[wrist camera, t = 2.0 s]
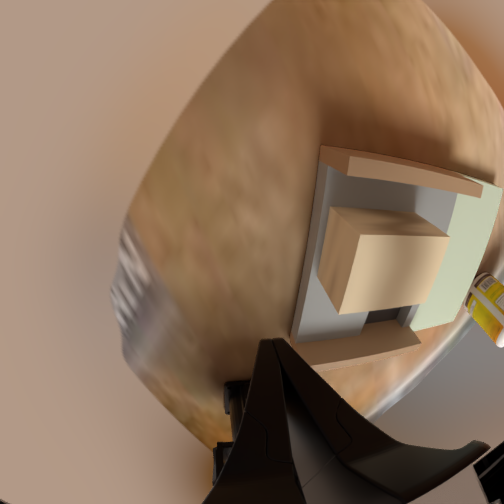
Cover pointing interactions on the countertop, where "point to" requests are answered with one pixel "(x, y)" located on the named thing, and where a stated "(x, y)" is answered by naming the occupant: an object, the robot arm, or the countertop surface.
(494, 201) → the board
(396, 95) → the countertop surface
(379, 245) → the block
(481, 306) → the supplement bottle
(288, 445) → the robot arm
